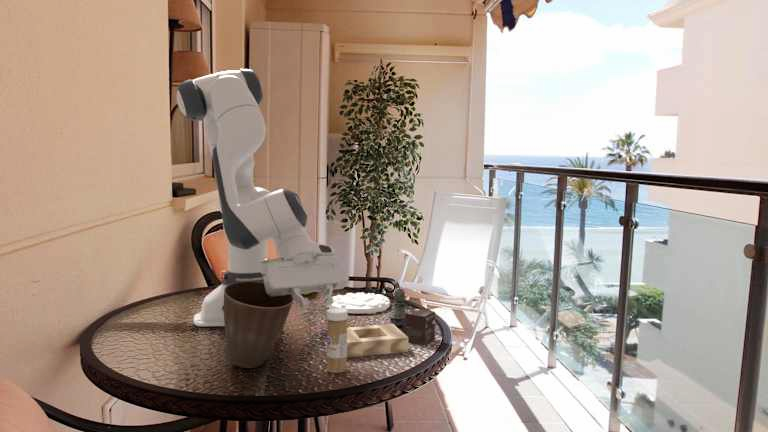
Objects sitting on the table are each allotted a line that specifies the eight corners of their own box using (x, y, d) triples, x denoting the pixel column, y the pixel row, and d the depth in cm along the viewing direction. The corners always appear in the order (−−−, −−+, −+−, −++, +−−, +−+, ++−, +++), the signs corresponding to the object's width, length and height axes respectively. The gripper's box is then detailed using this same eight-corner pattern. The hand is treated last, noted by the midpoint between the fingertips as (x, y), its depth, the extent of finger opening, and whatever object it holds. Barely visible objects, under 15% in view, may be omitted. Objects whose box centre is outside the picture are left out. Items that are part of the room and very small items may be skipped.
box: (424, 345, 130) (425, 316, 129) (403, 341, 133) (404, 313, 132) (435, 338, 135) (435, 311, 134) (415, 335, 138) (415, 308, 138)
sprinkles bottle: (322, 370, 112) (322, 309, 111) (337, 364, 116) (337, 305, 115) (336, 375, 109) (337, 313, 108) (351, 369, 113) (352, 309, 112)
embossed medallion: (316, 306, 168) (316, 298, 168) (363, 297, 181) (363, 289, 181) (353, 319, 153) (353, 310, 153) (402, 308, 166) (402, 300, 166)
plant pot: (215, 377, 106) (229, 305, 103) (208, 343, 119) (220, 278, 116) (285, 377, 112) (300, 309, 109) (271, 345, 125) (284, 283, 122)
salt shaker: (407, 332, 140) (408, 288, 139) (386, 330, 142) (387, 287, 141) (410, 326, 146) (411, 284, 145) (390, 324, 147) (391, 283, 146)
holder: (343, 357, 120) (343, 343, 120) (333, 341, 131) (333, 328, 131) (408, 351, 125) (408, 337, 124) (393, 336, 136) (393, 323, 136)
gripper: (260, 251, 115) (278, 302, 107) (339, 246, 127) (360, 292, 119) (253, 268, 119) (270, 319, 111) (330, 262, 131) (350, 308, 123)
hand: (317, 305), depth 115 cm, fingers open, 5 cm apart
